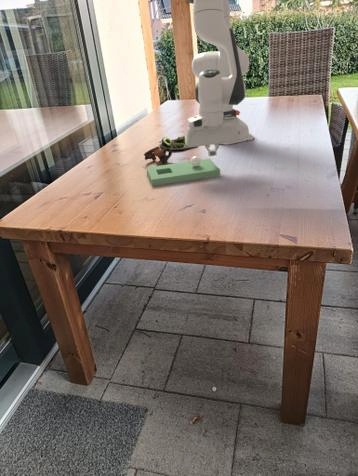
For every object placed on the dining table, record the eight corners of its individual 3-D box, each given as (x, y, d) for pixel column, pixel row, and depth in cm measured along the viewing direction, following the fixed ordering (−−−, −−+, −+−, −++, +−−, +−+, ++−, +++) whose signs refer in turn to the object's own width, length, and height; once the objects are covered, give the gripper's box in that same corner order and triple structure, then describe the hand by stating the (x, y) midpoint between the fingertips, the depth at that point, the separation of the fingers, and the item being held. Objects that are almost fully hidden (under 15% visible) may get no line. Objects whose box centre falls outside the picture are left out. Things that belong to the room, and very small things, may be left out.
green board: (209, 164, 154) (209, 158, 153) (220, 175, 142) (219, 169, 141) (147, 173, 150) (146, 167, 149) (152, 186, 138) (151, 179, 137)
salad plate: (186, 138, 193) (186, 129, 190) (207, 144, 179) (207, 135, 177) (154, 146, 184) (153, 137, 182) (173, 154, 171) (172, 144, 168)
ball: (199, 164, 148) (199, 154, 146) (202, 167, 144) (201, 157, 142) (189, 165, 147) (189, 155, 145) (192, 168, 144) (191, 158, 142)
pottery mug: (152, 170, 155) (143, 152, 153) (149, 173, 164) (140, 156, 163) (178, 157, 157) (168, 139, 156) (173, 161, 166) (164, 144, 165)
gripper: (235, 113, 142) (235, 150, 149) (182, 120, 139) (185, 156, 146) (241, 117, 137) (240, 154, 143) (186, 123, 134) (188, 161, 141)
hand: (212, 155), depth 145 cm, fingers closed
